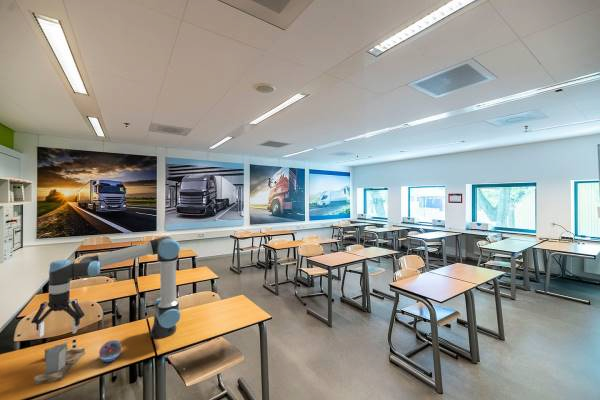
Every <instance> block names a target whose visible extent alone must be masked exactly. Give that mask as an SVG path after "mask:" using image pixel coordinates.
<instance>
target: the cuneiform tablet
mask: <svg viewBox="0 0 600 400" xmlns="http://www.w3.org/2000/svg"><path fill="white" fill-rule="evenodd" d="M64 344H67V345H66V350H68V342H64V343H61V344H59V345H64ZM53 347H54V346H52V347H48V348H46V349H44V361H45V362H46V353H47V352H49V351H50V350H51V349H52V348H53ZM72 349H77V339H73V340H72Z"/></svg>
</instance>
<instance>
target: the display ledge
mask: <svg viewBox="0 0 600 400" xmlns="http://www.w3.org/2000/svg"><path fill="white" fill-rule="evenodd" d="M85 354H86V347H80V348H76V349H73V348H72V349H67V350H66V366H65V367H64V368H63V369H62V370H61V371H60V372H59V373H52V374H46V375H45V371H43V372H42V373H41V374H40V375H35V376H34V377H33V378H34V381H33V384H34V385H39V384H44V383H45V384H46V383H51V382H59V381H62V380H63V378H64V377H65V376H66V375H67V374H68V373H69V372H70V371H71V370H72V368H73V367H74V366H75V365H76V364H77V363H78V362H79V361H80V360H81V359H82V357H83V356H84V355H85Z"/></svg>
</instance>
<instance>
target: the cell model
mask: <svg viewBox="0 0 600 400" xmlns="http://www.w3.org/2000/svg"><path fill="white" fill-rule="evenodd" d="M122 346H123V344H121V342H120V341H119V340H117V339H111V340H108V341H107V342H105V343H104V344H103V345H101V347H100V349H99V351H98V353H99V355H98V357H99V359H100V361H102V362H103V363H104V362H105V363H111V362H113V361H114V360H116V359H117V358H118V357H120V356H119V355H120V354H121V353H122Z"/></svg>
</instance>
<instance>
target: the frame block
mask: <svg viewBox="0 0 600 400" xmlns="http://www.w3.org/2000/svg"><path fill="white" fill-rule="evenodd" d="M66 345H67V346H68V343H67V344H64V345H60V344H57V345H54V346H52V347H53V348H52V349H51V350H50V351H49V352H47V353H46V361H45V375H46V374H52V373H59V372H60V371H61V370H62V369H63V368H64V367H65V366H66Z"/></svg>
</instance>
